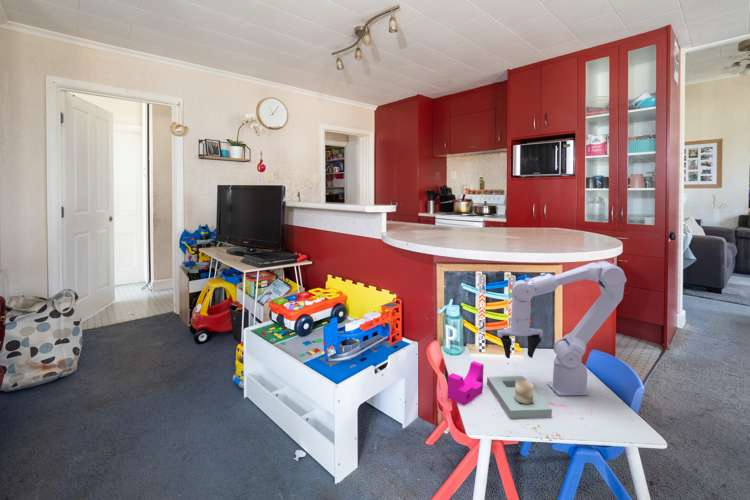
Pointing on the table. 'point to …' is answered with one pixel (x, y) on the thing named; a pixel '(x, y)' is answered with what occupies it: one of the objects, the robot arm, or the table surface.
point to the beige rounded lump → (524, 392)
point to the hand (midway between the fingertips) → (518, 356)
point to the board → (506, 397)
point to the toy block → (466, 384)
